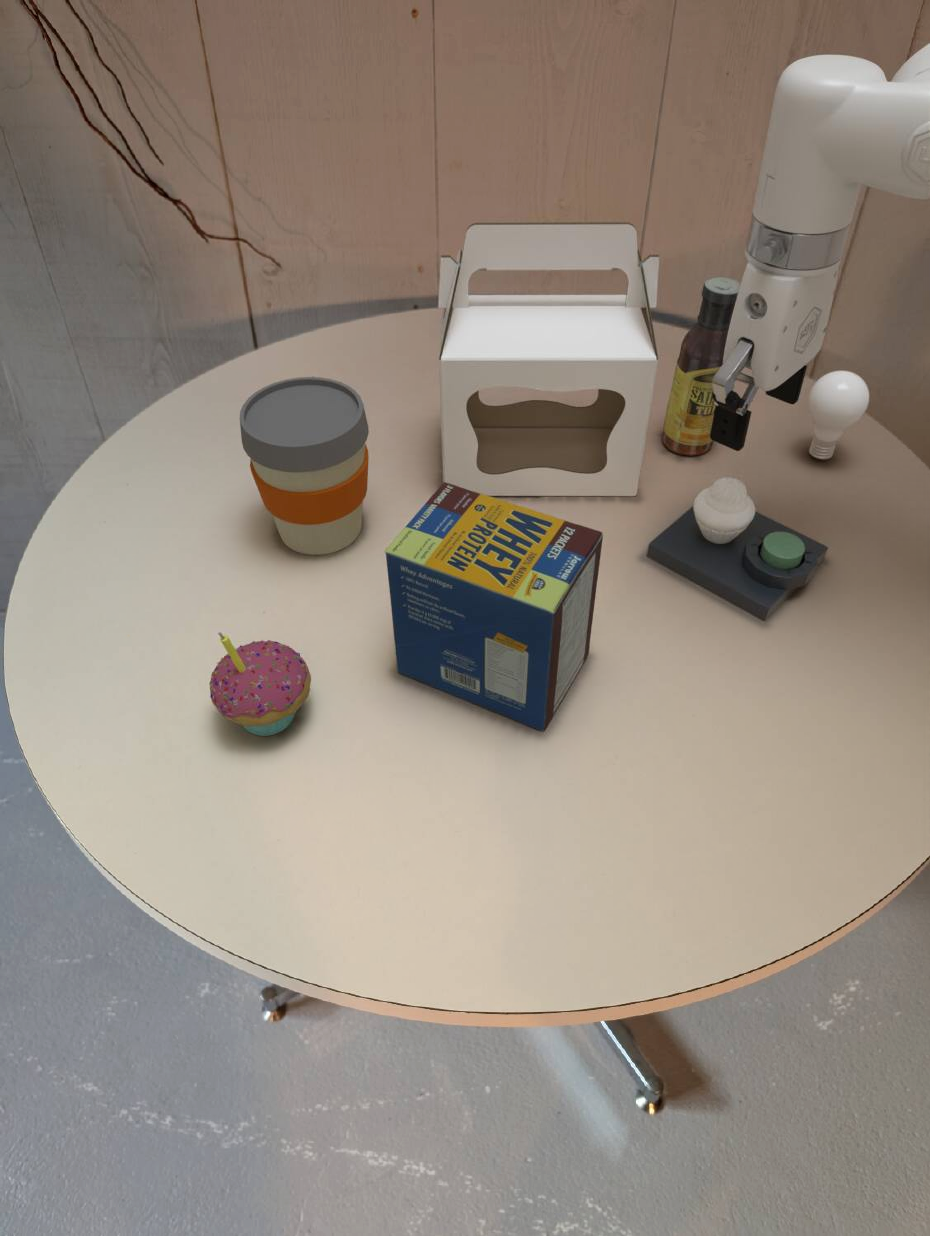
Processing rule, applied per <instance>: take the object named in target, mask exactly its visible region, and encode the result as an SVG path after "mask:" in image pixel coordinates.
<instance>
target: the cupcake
mask: <svg viewBox="0 0 930 1236" xmlns="http://www.w3.org/2000/svg"><path fill="white" fill-rule="evenodd" d="M217 634H218V635H219V636H220V639H219V641H220V642H221V644H222V646H223V648H224V649H225V651H226V653H227V654H225V655H224V656H223V657H221V658H220V660H219V661H218V662H217V663H216V666H215V668H214V670H213V671H212V672H211V675H210V680H209V684H208V686H209V693H210V696H209V697H210V699H211V702H212V704H213V706H214V707H215V709H216V710H217V712H218V713H220V715H221V716H222V717H223V718H224V719H227V720H230V721H232V722H234V723H236V724H239V725H241V726H243V728H244V729H245V730H246V731H247V732H249V733H250V734H253V735H256V736H259V737H260V736H261V737H267V736H268V737H269V736H273V735H276V734H279V733H281V732H282V731H284V730H285V729H287V728H288V727H289V726H290V725H291V724H292V723H293V720H294V717H295V715H296V712H297V711H298V710H299V708H301V706H302V705H303V704H304V703H305V701H306V700H307V699H308V697H309V695H310V692H311V682H312V676H311V675H312V674H311V672H310V669H309V666H308V664H307V663H306V661H305V659H304V658H303V657H302V656H301V653H300V652H297V651H296V650H295V649H293V648H292V647H290V646H289V645H287V644H284V643H281V642H278V641H274V640H269V639H267V640H263V639H261V640H260V641H259V640H257V641H255V640H253V641H252V642H250V643H247V644H245V645H239V647H236V648H235V647H234V646H235V645H233V643H232V641H231V639H230V638H229V636H228V635H226V634H225V635H223V634H222V632H220V631H218V632H217Z"/></svg>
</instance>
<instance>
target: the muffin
mask: <svg viewBox="0 0 930 1236" xmlns="http://www.w3.org/2000/svg"><path fill="white" fill-rule="evenodd" d="M692 507H693V508H694V513H695V517H696V521H697V523H698V525H699V528H700V530H701V532H702V535H703V536H704V538H705V539H707V540H709V542H712V543H715V544H716V543H717V544H725V543H728V542H730V541H732V540H733V539H734V538H735V537H737V536H738V535H739V534H740V533H741V532H743V531H744V530H745V529H746V527H747V526H748V525H749V524H750V522H751V521H752V520H753V518H754V515H755V511H756V506H755V503H754V501H753V499H752V498H751V497H750V496H749V495H748V491H747V487H746V485H745V484H744V483H743V482H742V481H741V480H739V479H738V478H736V477H731V476H728V477H727V476H724V477H722V478H721V477H720V478H718V479H717V480H714V481H713V483H712V485H711V486H708V487H706V488H704V489H703V490H701V491H700V492H699V493H698V494H697V495H696V497H695V499H694V501H693V505H692Z"/></svg>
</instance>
